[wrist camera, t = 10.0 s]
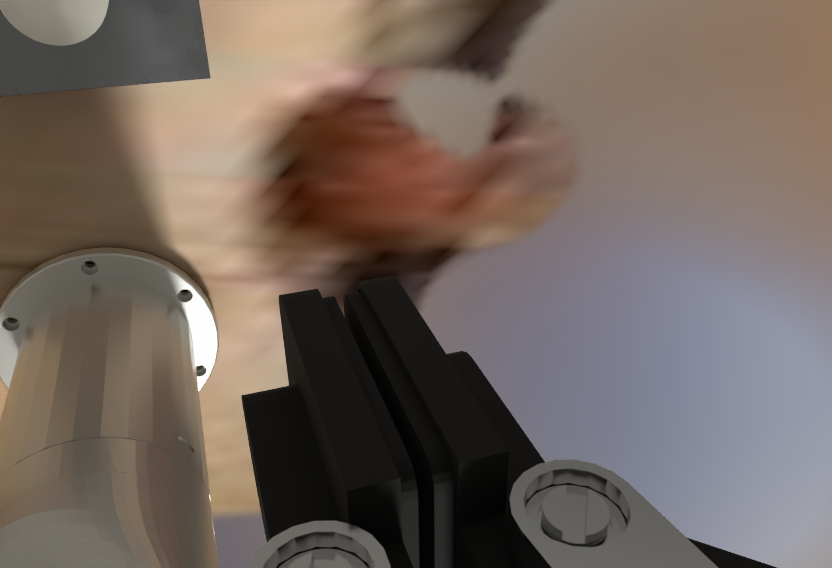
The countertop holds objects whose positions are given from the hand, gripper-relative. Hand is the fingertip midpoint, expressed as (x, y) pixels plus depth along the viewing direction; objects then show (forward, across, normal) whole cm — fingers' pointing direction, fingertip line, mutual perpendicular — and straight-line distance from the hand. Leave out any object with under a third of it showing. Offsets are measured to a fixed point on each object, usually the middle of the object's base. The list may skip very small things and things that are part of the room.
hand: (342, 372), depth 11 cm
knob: (+31, +6, -2) cm, 32 cm away
